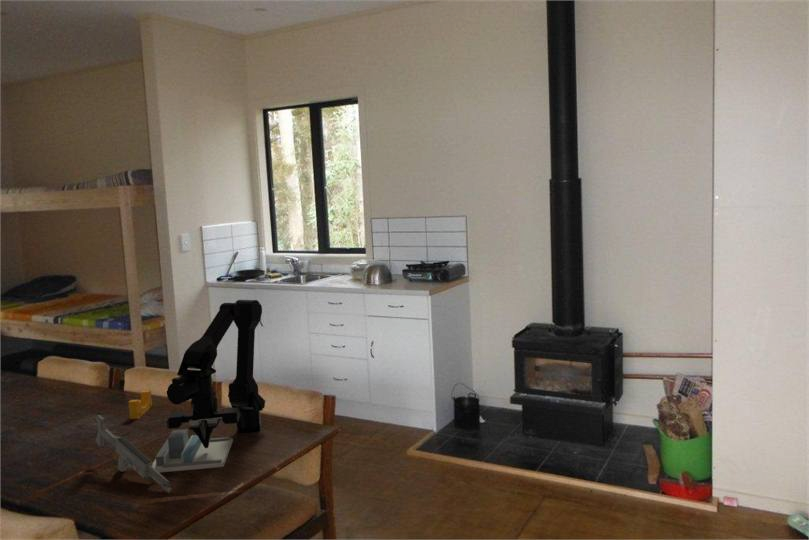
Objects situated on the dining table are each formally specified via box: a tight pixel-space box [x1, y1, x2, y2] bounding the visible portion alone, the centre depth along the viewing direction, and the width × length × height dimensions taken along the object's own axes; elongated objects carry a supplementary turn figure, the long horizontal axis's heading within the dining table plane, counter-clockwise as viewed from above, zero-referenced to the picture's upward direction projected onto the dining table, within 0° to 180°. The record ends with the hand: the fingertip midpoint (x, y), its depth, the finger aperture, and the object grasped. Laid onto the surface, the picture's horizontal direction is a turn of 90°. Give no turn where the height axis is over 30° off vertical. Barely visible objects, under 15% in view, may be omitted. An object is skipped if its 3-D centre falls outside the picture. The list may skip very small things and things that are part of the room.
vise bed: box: [152, 436, 234, 474], centre depth 180 cm, size 19×18×4 cm
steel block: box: [167, 428, 190, 459], centre depth 180 cm, size 4×6×6 cm, turn 7°
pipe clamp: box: [128, 390, 153, 420], centre depth 219 cm, size 12×4×6 cm, turn 0°
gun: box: [95, 414, 172, 494], centre depth 169 cm, size 36×4×10 cm, turn 50°
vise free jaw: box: [181, 434, 201, 463], centre depth 180 cm, size 2×14×2 cm, turn 7°
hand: (206, 447), depth 181 cm, fingers closed
